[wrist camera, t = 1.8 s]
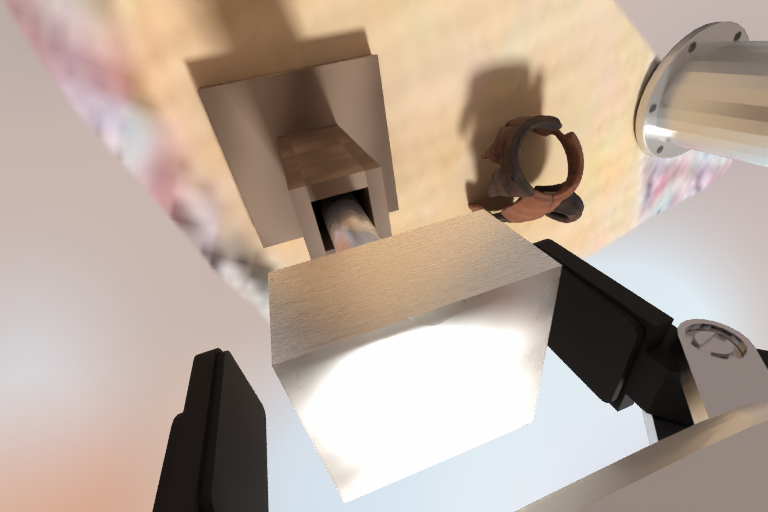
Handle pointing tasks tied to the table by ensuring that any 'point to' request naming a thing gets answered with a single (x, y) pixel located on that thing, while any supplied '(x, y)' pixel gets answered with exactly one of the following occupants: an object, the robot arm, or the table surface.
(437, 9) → the table surface
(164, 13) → the table surface
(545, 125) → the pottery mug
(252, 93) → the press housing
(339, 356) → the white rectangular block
